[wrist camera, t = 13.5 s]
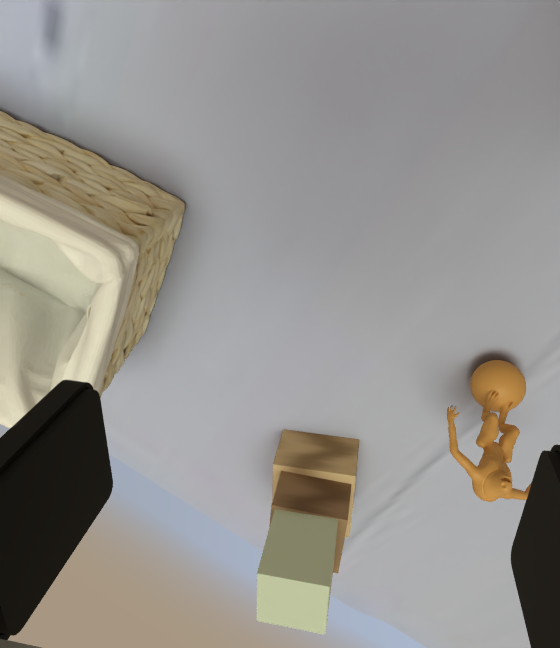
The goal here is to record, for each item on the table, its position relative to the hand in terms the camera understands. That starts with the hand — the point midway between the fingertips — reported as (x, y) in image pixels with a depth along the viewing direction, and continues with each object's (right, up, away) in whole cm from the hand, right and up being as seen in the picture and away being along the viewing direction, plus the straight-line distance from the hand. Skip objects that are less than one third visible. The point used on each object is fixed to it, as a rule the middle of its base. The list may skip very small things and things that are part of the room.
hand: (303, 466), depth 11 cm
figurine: (+16, -2, +32) cm, 36 cm away
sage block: (+1, -14, +31) cm, 34 cm away
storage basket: (-20, +12, +33) cm, 40 cm away
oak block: (+3, -10, +39) cm, 40 cm away
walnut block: (+2, -13, +34) cm, 37 cm away
